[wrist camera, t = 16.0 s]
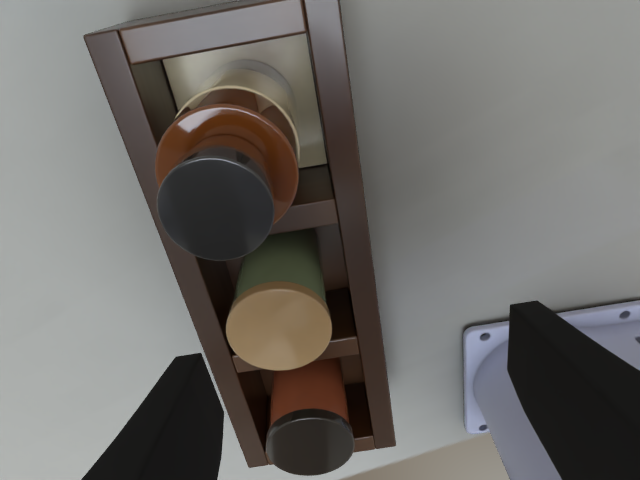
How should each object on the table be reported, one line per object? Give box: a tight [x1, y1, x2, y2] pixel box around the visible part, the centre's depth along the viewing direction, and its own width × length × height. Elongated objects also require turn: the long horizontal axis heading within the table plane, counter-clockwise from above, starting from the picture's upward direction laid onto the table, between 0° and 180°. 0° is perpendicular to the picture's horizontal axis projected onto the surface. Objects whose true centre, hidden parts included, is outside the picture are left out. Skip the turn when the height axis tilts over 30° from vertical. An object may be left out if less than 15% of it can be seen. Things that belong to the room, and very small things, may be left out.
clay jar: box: [266, 357, 355, 476], centre depth 21 cm, size 4×4×6 cm
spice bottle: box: [155, 59, 300, 261], centre depth 14 cm, size 4×4×8 cm
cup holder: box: [84, 0, 396, 468], centre depth 20 cm, size 7×20×4 cm, turn 9°
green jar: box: [226, 228, 332, 371], centre depth 18 cm, size 4×4×6 cm
